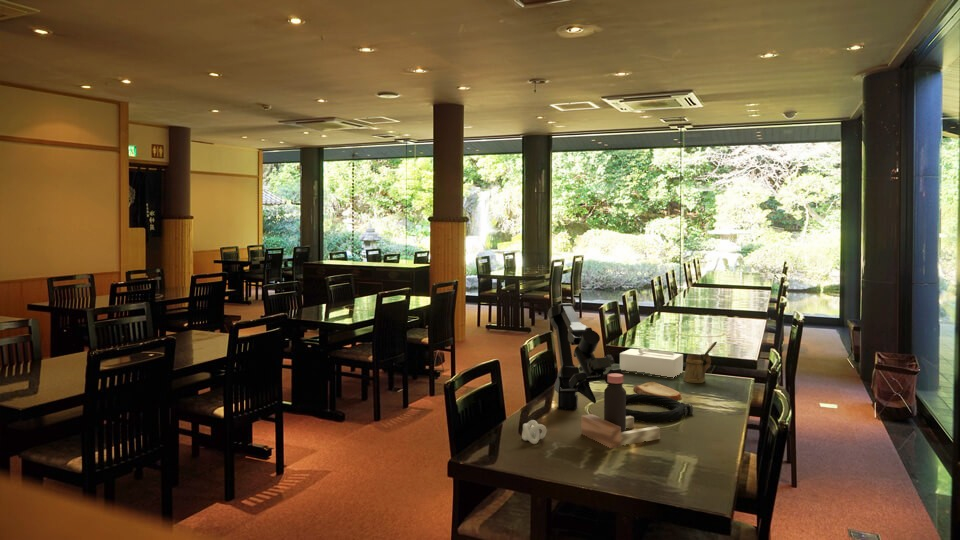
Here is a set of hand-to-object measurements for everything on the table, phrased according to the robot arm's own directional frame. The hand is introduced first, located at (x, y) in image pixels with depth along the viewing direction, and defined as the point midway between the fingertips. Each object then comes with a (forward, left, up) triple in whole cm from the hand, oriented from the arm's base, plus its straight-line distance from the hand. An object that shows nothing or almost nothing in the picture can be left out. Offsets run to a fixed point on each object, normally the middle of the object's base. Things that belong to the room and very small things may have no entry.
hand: (607, 401), depth 202 cm
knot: (-21, -15, -11) cm, 28 cm away
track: (+4, -1, -11) cm, 12 cm away
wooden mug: (+28, +84, -11) cm, 90 cm away
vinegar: (+3, -2, -11) cm, 12 cm away
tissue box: (+7, +97, -11) cm, 98 cm away
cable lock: (+11, +30, -11) cm, 34 cm away
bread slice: (+12, +57, -11) cm, 60 cm away
